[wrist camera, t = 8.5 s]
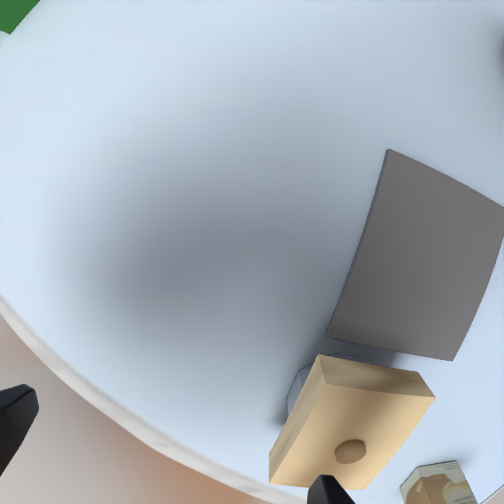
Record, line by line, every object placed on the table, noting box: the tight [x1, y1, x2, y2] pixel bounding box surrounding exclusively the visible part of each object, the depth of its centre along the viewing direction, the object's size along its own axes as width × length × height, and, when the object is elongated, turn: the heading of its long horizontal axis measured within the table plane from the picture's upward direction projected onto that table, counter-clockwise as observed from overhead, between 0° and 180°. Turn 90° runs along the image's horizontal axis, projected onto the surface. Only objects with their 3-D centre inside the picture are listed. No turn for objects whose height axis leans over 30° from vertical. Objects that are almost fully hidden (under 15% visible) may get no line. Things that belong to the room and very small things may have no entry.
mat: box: [326, 149, 504, 361], centre depth 17 cm, size 11×12×1 cm
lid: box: [269, 354, 435, 489], centre depth 15 cm, size 7×9×3 cm
